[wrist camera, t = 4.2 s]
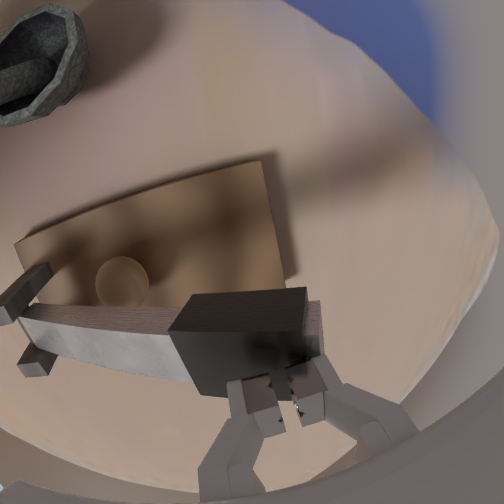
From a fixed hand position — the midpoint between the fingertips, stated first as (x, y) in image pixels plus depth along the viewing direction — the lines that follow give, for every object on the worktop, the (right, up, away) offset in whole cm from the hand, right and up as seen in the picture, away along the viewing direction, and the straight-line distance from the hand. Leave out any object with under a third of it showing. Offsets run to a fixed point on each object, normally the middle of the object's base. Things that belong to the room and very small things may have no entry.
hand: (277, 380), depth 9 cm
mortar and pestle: (-19, +20, +7) cm, 28 cm away
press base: (-11, +4, +15) cm, 19 cm away
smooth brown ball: (-11, +3, +13) cm, 17 cm away
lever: (-8, 0, +5) cm, 9 cm away
